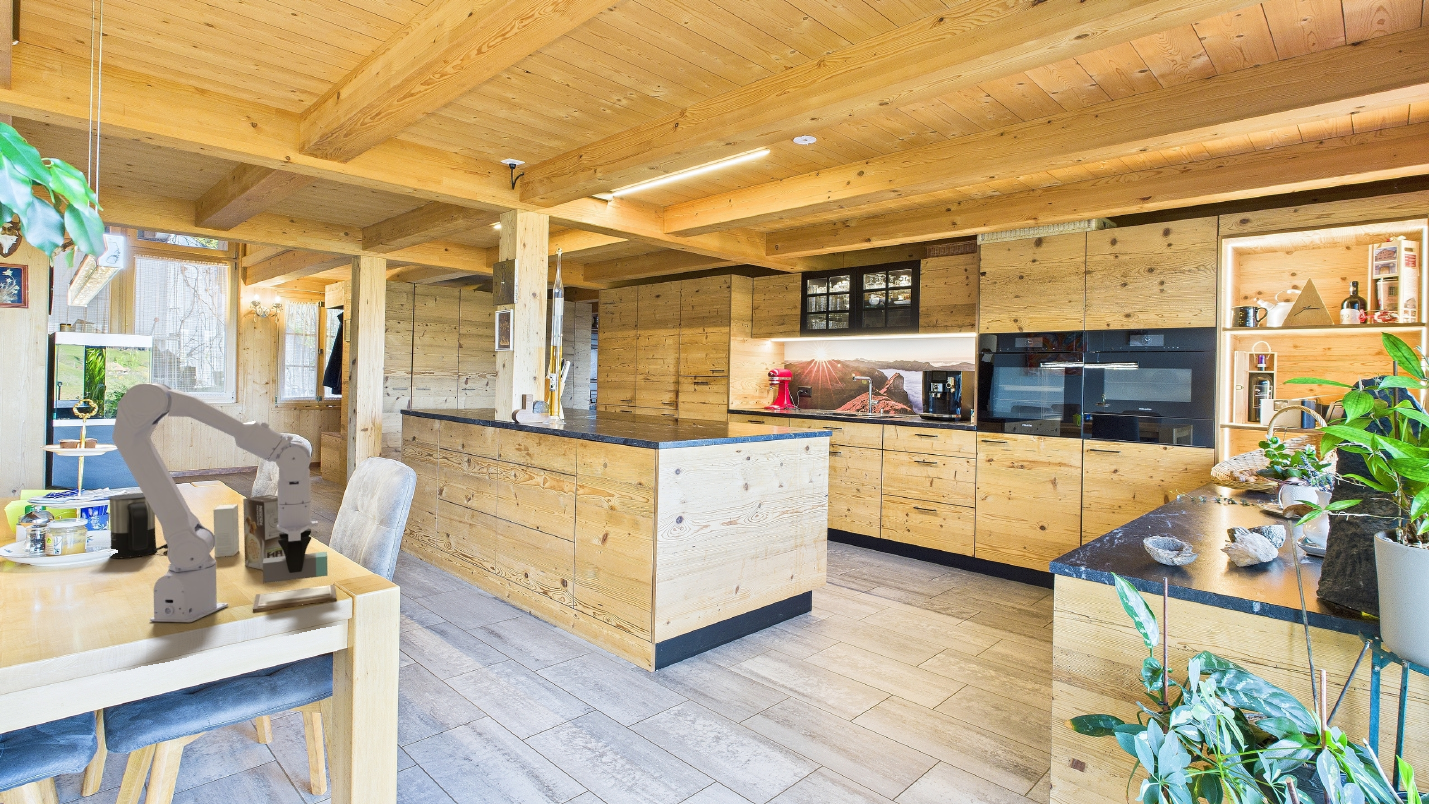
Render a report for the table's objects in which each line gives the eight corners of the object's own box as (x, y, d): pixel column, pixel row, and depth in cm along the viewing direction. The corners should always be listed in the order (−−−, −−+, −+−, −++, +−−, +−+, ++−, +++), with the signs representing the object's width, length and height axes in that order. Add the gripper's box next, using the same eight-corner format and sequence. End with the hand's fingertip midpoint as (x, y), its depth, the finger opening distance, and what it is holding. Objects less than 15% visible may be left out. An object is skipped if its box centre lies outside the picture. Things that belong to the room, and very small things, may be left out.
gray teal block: (263, 583, 135) (262, 563, 135) (264, 578, 139) (263, 558, 139) (327, 575, 141) (327, 556, 141) (327, 570, 144) (326, 551, 144)
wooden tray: (252, 612, 132) (252, 607, 132) (255, 597, 141) (255, 593, 141) (336, 600, 139) (336, 596, 139) (334, 587, 148) (334, 583, 148)
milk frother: (100, 556, 170) (99, 496, 170) (172, 542, 185) (171, 487, 184) (134, 563, 165) (133, 501, 164) (205, 548, 179) (204, 491, 178)
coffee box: (293, 564, 165) (292, 497, 164) (265, 571, 159) (264, 502, 158) (270, 559, 169) (269, 494, 168) (242, 565, 163) (241, 498, 163)
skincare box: (219, 551, 175) (218, 504, 175) (239, 550, 177) (238, 503, 177) (213, 557, 170) (212, 509, 169) (234, 556, 172) (233, 508, 171)
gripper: (318, 506, 135) (319, 575, 136) (317, 494, 147) (317, 558, 148) (275, 509, 131) (276, 580, 132) (277, 497, 144) (278, 562, 144)
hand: (295, 569), depth 140 cm, fingers closed on gray teal block, 4 cm apart
